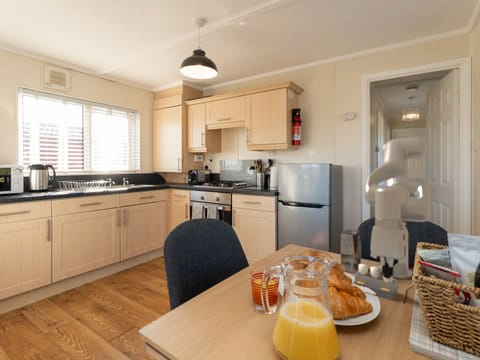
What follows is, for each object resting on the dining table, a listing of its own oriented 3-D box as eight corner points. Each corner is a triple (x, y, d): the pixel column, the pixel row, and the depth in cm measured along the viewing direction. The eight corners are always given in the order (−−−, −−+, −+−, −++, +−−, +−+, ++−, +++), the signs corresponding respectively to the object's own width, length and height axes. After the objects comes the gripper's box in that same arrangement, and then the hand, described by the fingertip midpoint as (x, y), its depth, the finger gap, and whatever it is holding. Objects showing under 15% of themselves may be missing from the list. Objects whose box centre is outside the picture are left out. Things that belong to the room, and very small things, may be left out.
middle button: (372, 275, 93) (371, 265, 93) (381, 277, 91) (381, 267, 91) (369, 277, 91) (369, 268, 91) (378, 280, 89) (378, 270, 89)
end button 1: (384, 283, 91) (384, 274, 91) (393, 286, 89) (393, 276, 89) (381, 286, 89) (381, 276, 88) (391, 289, 87) (391, 279, 86)
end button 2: (360, 272, 96) (360, 263, 96) (369, 274, 94) (369, 265, 94) (357, 274, 94) (357, 265, 94) (366, 277, 92) (366, 267, 92)
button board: (360, 282, 98) (360, 269, 98) (397, 292, 90) (397, 278, 90) (353, 288, 93) (353, 275, 93) (392, 300, 85) (392, 285, 85)
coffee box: (356, 273, 106) (356, 235, 106) (340, 270, 110) (340, 233, 110) (361, 267, 114) (361, 230, 113) (346, 264, 118) (346, 229, 117)
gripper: (416, 224, 85) (415, 279, 86) (368, 219, 96) (368, 268, 96) (411, 228, 80) (411, 286, 80) (360, 222, 90) (361, 274, 91)
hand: (387, 276), depth 88 cm, fingers closed
